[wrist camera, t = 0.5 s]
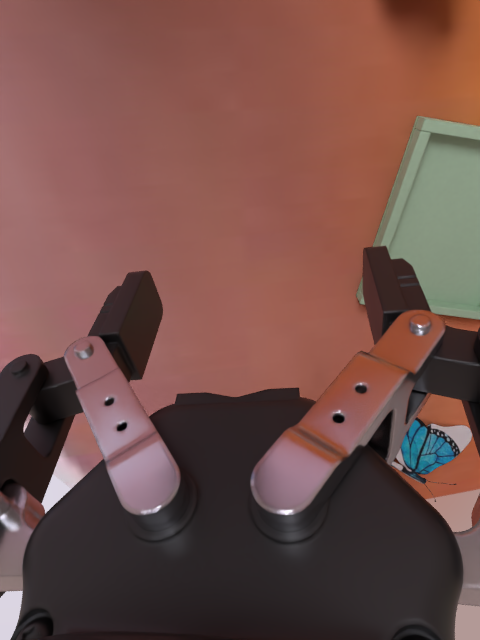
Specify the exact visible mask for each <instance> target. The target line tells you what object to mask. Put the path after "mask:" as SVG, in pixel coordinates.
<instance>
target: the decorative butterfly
mask: <svg viewBox="0 0 480 640" xmlns="http://www.w3.org/2000/svg"><path fill="white" fill-rule="evenodd" d="M471 438H472V433H471V430H470V429H469V428H468V427H467V426H464V425H458V426H451V427H442V426H439V425H436V424H429V425H428V426H427V427H426V426H425V424H424V423H423V422H422V421H421V420H420V419H418V418H417V417H416V419H415V420H414V422H413V423H412V425H411V427H410V428H409V430H408V431H407V433H406V435H405V437H404V440H403V442H402V445H401V448H400V450H399V452H398V454H397V456H396V458H397V460H398V462H399V463H401V464H402V465H403V466H402V465H400V464H398V463H396V462H394V461H393V463H392V464H391V466H393V467H394V468H396V469H398V470H400V471H401V472H403V473H404V474H406V475H407V476H409V477H411V478H412V479H414V480H416V481H418V482H420V483H423V484H425V483H426V479H425V478H422V477H420V476H419V475H418V474H428V473H430V472H431V471H433V470H434V469H436V468H437V467H439V466H441V465H444V464H446V463H448V462H450V461H451V460H453V459H454V458H455V457H457V456H458V455H459V454H460V453H461V452H462V450H463V449H464V448H465V447H466V446H467V445H468V444H469V443H470V441H471ZM404 466H405V467H404ZM429 482H430V481H429ZM434 483H437V482H434ZM443 484H446V483H443ZM451 485H456V484H451ZM426 487H427V486H426ZM430 492H431V491H430ZM432 495H433V494H432ZM435 502H436V501H435Z"/></svg>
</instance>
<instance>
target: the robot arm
mask: <svg viewBox="0 0 480 640" xmlns="http://www.w3.org/2000/svg"><path fill="white" fill-rule="evenodd" d="M363 297H364V302H365V306H366V310H367V315H368V319H369V323H370V327H371V331H372V336H373V340H374V344H375V346H374V347H373V348H372V349H371V350H370V352H369V353H366V352H363V351H360V352H358V353H357V354H356V355H355V356H354V357H353V358H352V360H351V361H350V362H349V363H348V364H347V366H346V367H345V368H344V369H343V370H342V372H341V373H340V374H339V375H338V376H337V378H336V379H335V380H334V381H333V382H332V384H331V385H330V386H329V387H328V388H327V389H326V391H325V392H324V393H323V394H322V395H321V397H320V398H319V399H318V400H317V401H314V400H310V399H307V398H302V397H300V393H299V388H283V389H267V390H263V391H259V392H256V393H252V394H248V395H244V396H240V397H229V396H223V395H217V394H212V393H187V394H177V397H176V401H175V404H172V405H169V406H167V407H164V408H162V409H160V410H158V411H157V412H155V413H153V414H152V415H151V416H149V417H148V415H147V413H146V411H145V410H144V408H143V406H142V405H141V403H140V401H139V400H138V398H137V396H136V395H135V393H134V391H133V389H132V388H131V386H130V384H129V382H130V380H141V379H142V377H143V374H144V371H145V368H146V365H147V362H148V359H149V356H150V353H151V350H152V347H153V344H154V341H155V338H156V334H157V331H158V328H159V325H160V322H161V319H162V315H163V307H162V302H161V299H160V297H159V294H158V292H157V289H156V286H155V284H154V281H153V278H152V276H151V274H150V272H149V271H139V272H130V273H128V274H127V276H126V278H125V280H124V282H123V284H122V286H117V287H116V288H115V289H114V290H113V291H112V292H111V293H110V294H109V295H108V297H107V299H106V301H105V303H104V306H103V307H102V309H101V311H100V314H99V315H98V316H97V318H96V320H95V322H94V324H93V326H92V328H91V330H90V332H89V334H88V336H87V337H83V338H81V339H79V340H77V341H75V342H74V343H72V344H71V345H70V346H69V347H68V348H67V350H66V351H65V354H64V357H61V358H58V359H55V360H51V361H48V362H45V363H43V361H42V360H41V359H40V357H39V356H37V355H35V354H28V355H23V356H21V357H18V358H16V359H14V360H13V361H11V362H10V363H9V364H8V365H6V366H5V368H4V369H3V370H2V372H1V373H0V597H1V596H2V595H3V594H4V593H5V592H6V591H23V596H22V604H21V610H20V615H19V620H18V623H17V626H16V629H15V631H14V634H13V636H12V638H11V640H455V632H454V631H455V617H456V610H457V605H458V604H462V605H472V606H480V494H479V496H478V499H477V501H476V504H475V506H474V508H473V511H472V517H471V518H472V528H470V529H469V530H466V531H462V532H452V530H451V528H450V527H449V525H448V523H447V522H446V521H445V519H444V518H443V517H442V516H441V515H440V513H439V512H438V511H437V510H436V509H435V508H434V507H433V506H432V505H431V504H430V503H428V502H427V501H426V500H425V499H424V498H423V497H422V496H421V495H420V494H419V493H418V492H417V491H416V490H415V489H414V488H413V487H412V486H411V485H410V484H409V483H408V482H407V481H406V480H404V479H403V478H402V477H401V476H400V475H399V474H398V473H397V472H396V471H395V470H394V469H393V468H392V467H391V464H392V463H393V461H394V459H395V458H396V456H397V454H398V452H399V450H400V448H401V445H402V442H403V440H404V437H405V435H406V433H407V431H408V430H409V428H410V427H411V425H412V423H413V422H414V420H415V419H416V417H417V416H418V414H419V413H420V411H421V409H422V408H423V406H424V405H425V403H426V402H427V400H428V398H429V397H430V395H431V394H436V395H441V396H446V397H450V398H455V399H460V400H462V403H463V406H464V409H465V413H466V416H467V419H468V422H469V425H470V428H471V431H472V434H473V437H474V441H475V444H476V447H477V450H478V453H479V456H480V328H479V330H478V332H475V331H468V330H461V329H456V328H452V327H449V326H447V325H445V322H444V321H443V319H442V318H441V317H440V316H438V315H437V314H435V313H433V312H431V309H430V307H429V304H428V302H427V300H426V297H425V295H424V292H423V290H422V288H421V285H420V283H419V281H418V278H417V277H416V273H415V271H414V269H413V266H412V265H411V264H409V263H408V262H407V261H406V260H404V259H403V258H399V259H391V258H390V255H389V252H388V249H387V247H386V246H377V247H368V248H364V250H363ZM82 412H84V413H85V415H86V418H87V420H88V422H89V425H90V427H91V430H92V432H93V434H94V437H95V439H96V441H97V444H98V446H99V448H100V451H101V453H102V455H103V458H104V459H103V460H102V461H101V462H100V463H99V464H98V465H96V466H95V467H94V468H93V469H92V470H91V471H90V472H89V473H88V474H87V475H86V476H85V477H84V478H83V479H82V480H80V481H79V482H78V483H77V484H76V485H75V486H74V487H73V488H72V489H71V490H70V491H69V492H68V493H67V494H66V495H65V496H63V498H61V499H60V500H59V501H58V502H57V503H56V504H55V505H54V506H53V507H52V508H51V509H50V510H49V511H48V512H47V513H46V514H45V510H44V507H43V505H42V504H41V503H42V501H43V498H44V495H45V493H46V490H47V487H48V485H49V482H50V480H51V477H52V474H53V472H54V469H55V467H56V464H57V461H58V459H59V456H60V453H61V451H62V448H63V446H64V443H65V440H66V438H67V435H68V432H69V430H70V427H71V425H72V422H73V419H74V417H75V415H76V414H79V413H82ZM28 414H30V415H31V416H32V417H31V419H30V421H29V424H28V426H27V428H26V430H25V432H23V427H24V423H25V421H26V419H27V417H28Z"/></svg>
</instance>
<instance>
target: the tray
mask: <svg viewBox="0 0 480 640" xmlns="http://www.w3.org/2000/svg"><path fill="white" fill-rule="evenodd" d="M377 246H386V247H387V249H388V252H389V255H390V258H391V259H399V258H403V259H404V260H406V261H407V262H408V263H409V264H411V265H412V266H413V269H414V271H415V273H416V277H417V278H418V281H419V283H420V285H421V288H422V290H423V292H424V295H425V297H426V300H427V302H428V304H429V307H430V309H431V312H433V313H435V314H440V315H448V316H456V317H463V318H471V319H478V320H480V126H476V125H470V124H464V123H458V122H452V121H446V120H440V119H434V118H428V117H422V116H417V117H416V120H415V123H414V126H413V129H412V132H411V135H410V138H409V141H408V144H407V147H406V150H405V153H404V156H403V159H402V161H401V164H400V167H399V170H398V173H397V176H396V179H395V182H394V185H393V188H392V191H391V194H390V197H389V200H388V203H387V206H386V209H385V211H384V214H383V217H382V220H381V223H380V226H379V229H378V232H377V235H376V238H375V241H374V244H373V247H377ZM356 297H357V298H358V300H359V303H360V304H365V302H364V297H363V276H362V279H361V282H360V285H359V288H358V291H357V294H356Z"/></svg>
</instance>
